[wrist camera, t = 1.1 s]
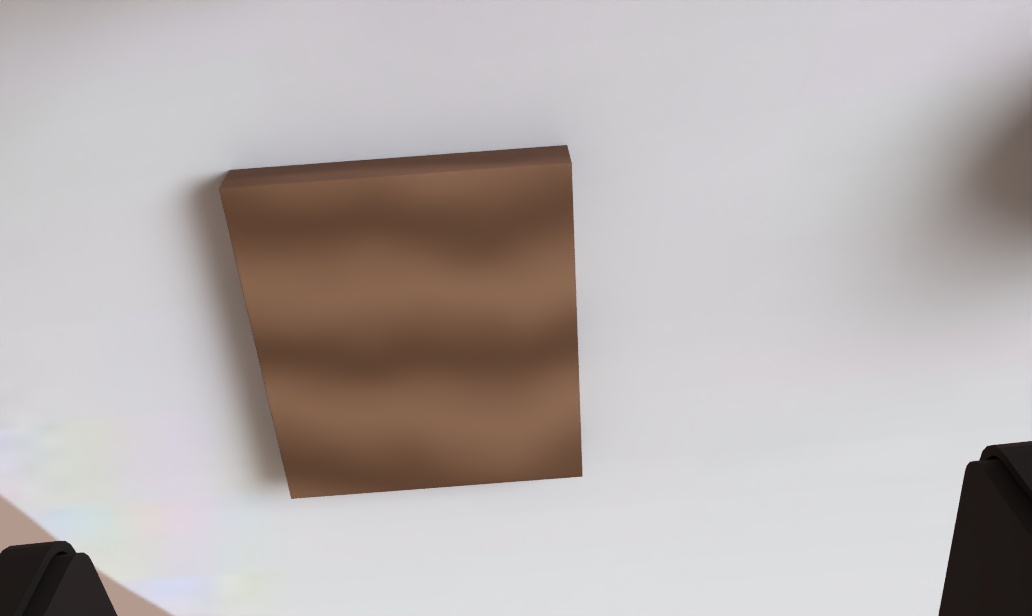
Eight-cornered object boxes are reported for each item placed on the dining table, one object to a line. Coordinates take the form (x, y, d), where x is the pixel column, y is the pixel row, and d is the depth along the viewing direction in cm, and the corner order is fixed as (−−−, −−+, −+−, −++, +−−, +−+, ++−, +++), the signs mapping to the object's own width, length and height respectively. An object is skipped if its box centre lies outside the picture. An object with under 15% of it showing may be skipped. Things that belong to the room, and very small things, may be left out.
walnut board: (229, 170, 39) (219, 188, 38) (567, 145, 39) (571, 162, 38) (297, 471, 47) (291, 498, 45) (578, 450, 47) (582, 476, 46)
